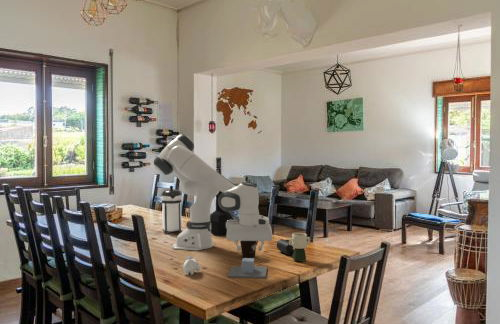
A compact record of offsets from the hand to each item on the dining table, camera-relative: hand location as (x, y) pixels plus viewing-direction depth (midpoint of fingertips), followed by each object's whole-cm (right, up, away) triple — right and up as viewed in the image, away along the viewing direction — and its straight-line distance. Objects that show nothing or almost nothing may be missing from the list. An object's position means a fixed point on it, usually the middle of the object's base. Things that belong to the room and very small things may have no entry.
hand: (249, 250), depth 185 cm
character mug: (+24, -9, +18) cm, 31 cm away
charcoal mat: (-1, -10, 0) cm, 10 cm away
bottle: (-18, -6, +80) cm, 82 cm away
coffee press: (-51, -6, +87) cm, 101 cm away
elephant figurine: (-26, -10, 0) cm, 28 cm away
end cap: (+19, -9, +31) cm, 38 cm away
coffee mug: (+1, -9, +26) cm, 27 cm away
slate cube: (-1, -9, 0) cm, 9 cm away
